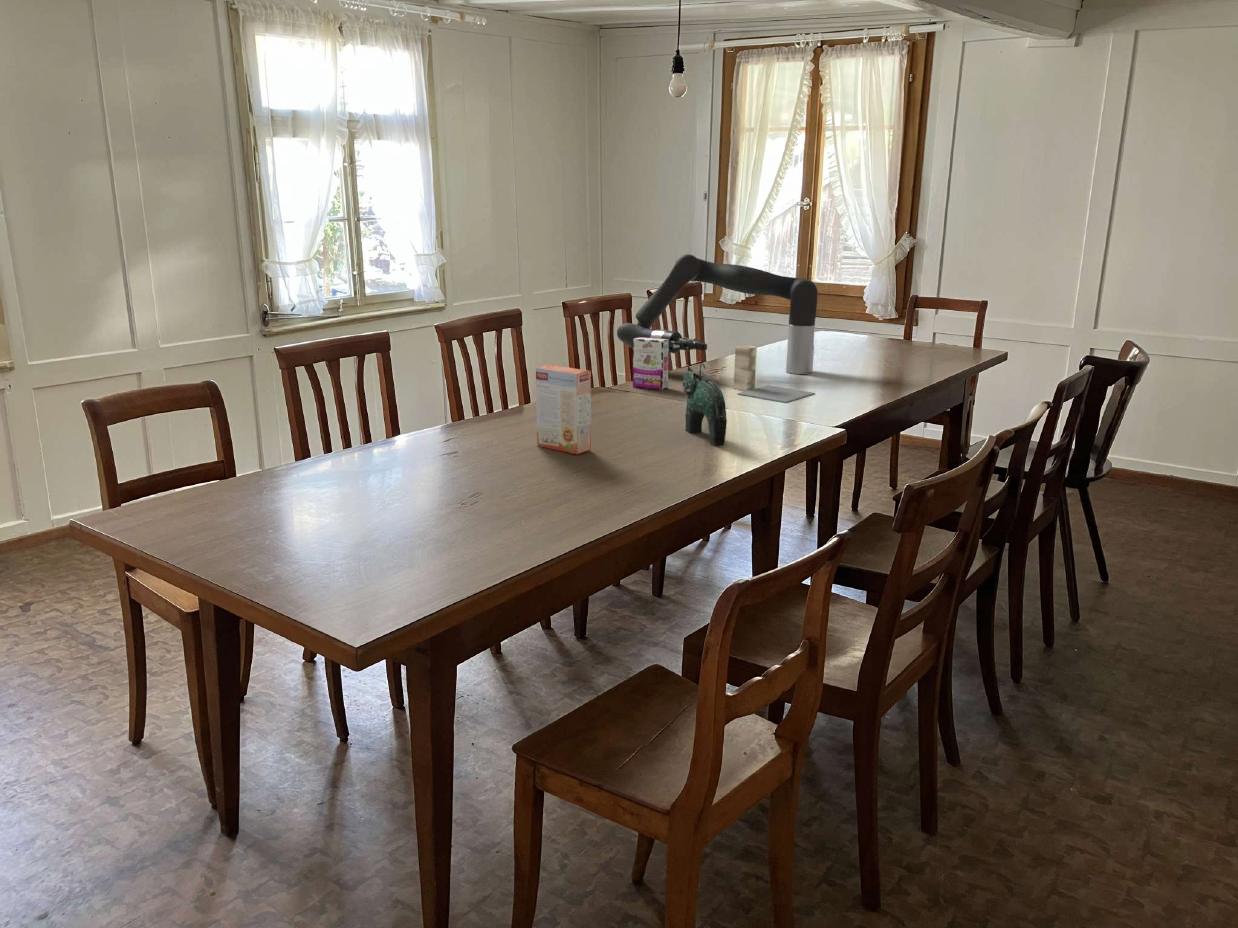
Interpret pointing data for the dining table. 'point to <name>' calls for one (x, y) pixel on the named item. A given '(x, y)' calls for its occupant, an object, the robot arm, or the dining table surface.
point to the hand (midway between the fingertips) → (705, 347)
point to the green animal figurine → (704, 405)
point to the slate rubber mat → (776, 393)
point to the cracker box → (563, 408)
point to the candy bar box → (650, 363)
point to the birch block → (745, 367)
